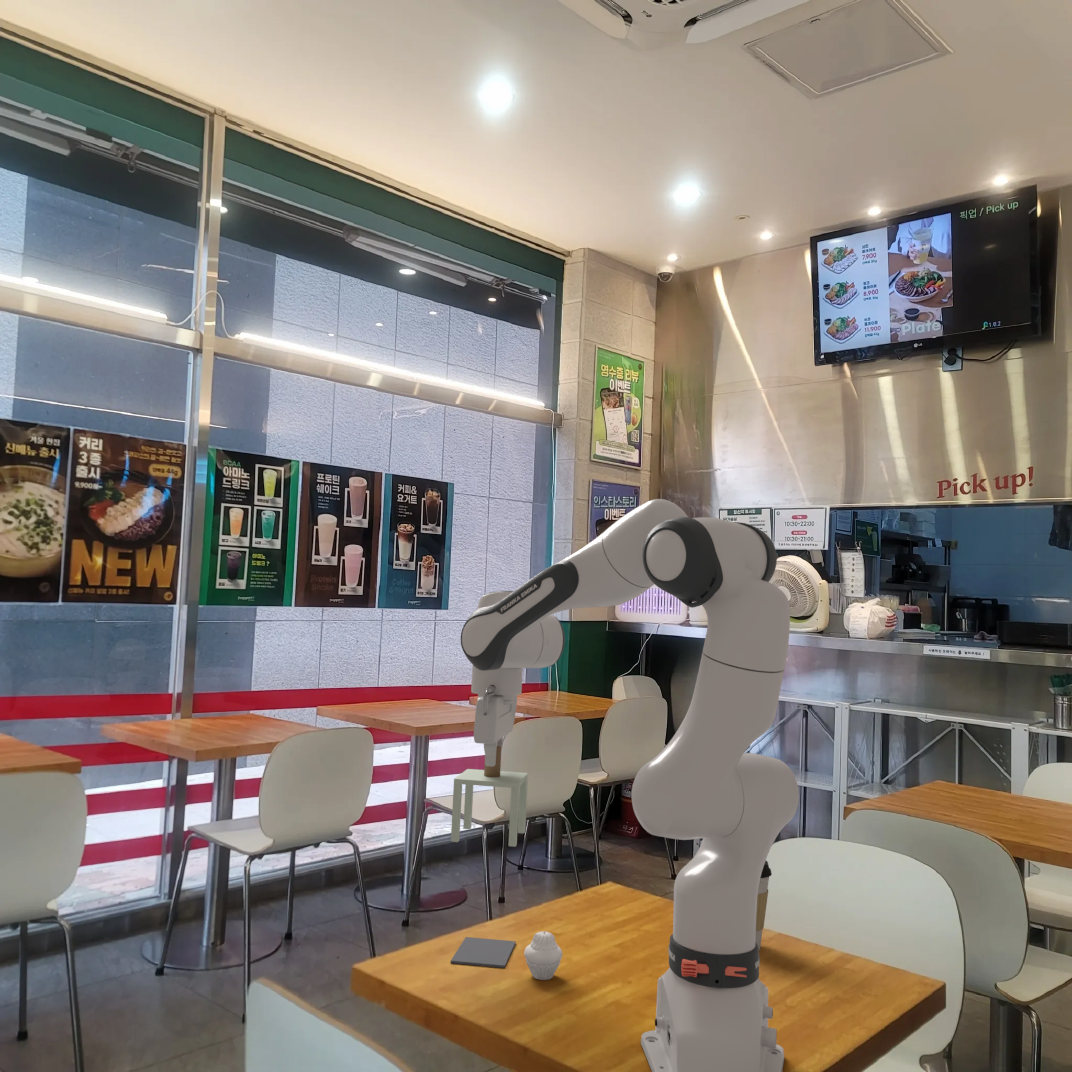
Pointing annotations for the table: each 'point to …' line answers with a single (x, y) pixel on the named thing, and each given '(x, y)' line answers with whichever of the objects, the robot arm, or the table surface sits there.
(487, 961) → the mat
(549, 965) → the muffin
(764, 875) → the coffee cup
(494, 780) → the cover
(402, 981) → the table surface
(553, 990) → the table surface
